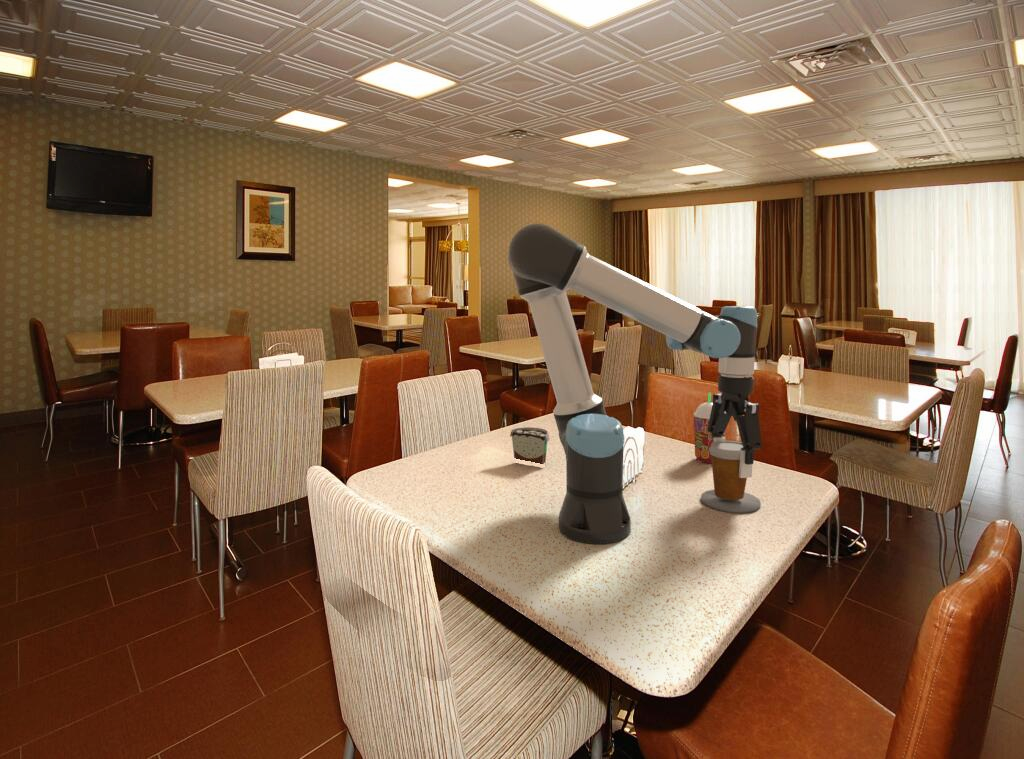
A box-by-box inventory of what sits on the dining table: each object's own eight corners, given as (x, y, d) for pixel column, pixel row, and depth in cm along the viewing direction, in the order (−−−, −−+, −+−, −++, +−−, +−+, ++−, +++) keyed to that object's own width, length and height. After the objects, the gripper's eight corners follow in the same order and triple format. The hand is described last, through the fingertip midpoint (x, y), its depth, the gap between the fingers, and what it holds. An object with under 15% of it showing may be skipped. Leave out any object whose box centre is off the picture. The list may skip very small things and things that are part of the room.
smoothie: (686, 457, 165) (688, 391, 162) (710, 455, 168) (712, 389, 165) (703, 466, 157) (706, 396, 154) (728, 463, 160) (731, 394, 157)
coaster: (722, 515, 123) (722, 512, 123) (690, 495, 136) (690, 492, 136) (773, 509, 126) (773, 506, 126) (737, 490, 139) (737, 487, 138)
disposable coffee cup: (746, 489, 134) (748, 440, 132) (755, 503, 125) (757, 451, 123) (704, 487, 136) (706, 439, 134) (710, 501, 127) (712, 450, 125)
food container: (557, 463, 162) (557, 430, 161) (547, 469, 157) (547, 434, 156) (521, 457, 169) (520, 425, 167) (510, 462, 164) (509, 429, 162)
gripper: (784, 381, 116) (778, 484, 120) (721, 367, 138) (717, 455, 141) (753, 383, 115) (747, 487, 118) (694, 369, 136) (691, 457, 139)
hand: (731, 470), depth 130 cm, fingers closed on disposable coffee cup, 9 cm apart
